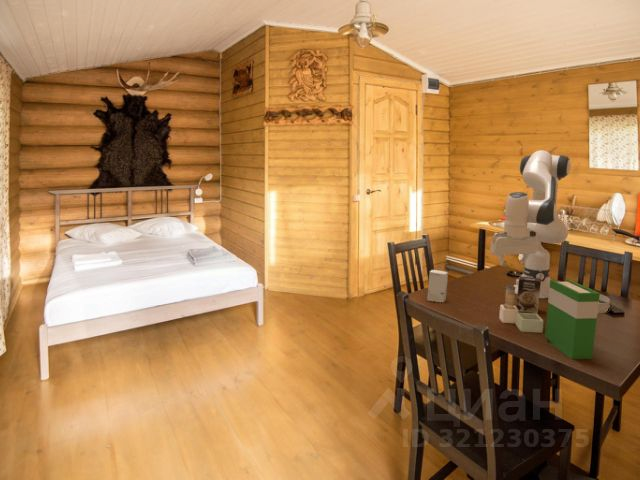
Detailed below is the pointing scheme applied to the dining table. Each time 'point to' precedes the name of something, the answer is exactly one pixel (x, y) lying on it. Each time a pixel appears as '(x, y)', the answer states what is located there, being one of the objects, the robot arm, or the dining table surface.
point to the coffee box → (528, 294)
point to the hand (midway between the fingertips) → (512, 264)
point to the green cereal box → (572, 318)
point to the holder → (529, 322)
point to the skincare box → (437, 286)
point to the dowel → (509, 297)
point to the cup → (508, 314)
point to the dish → (603, 304)
